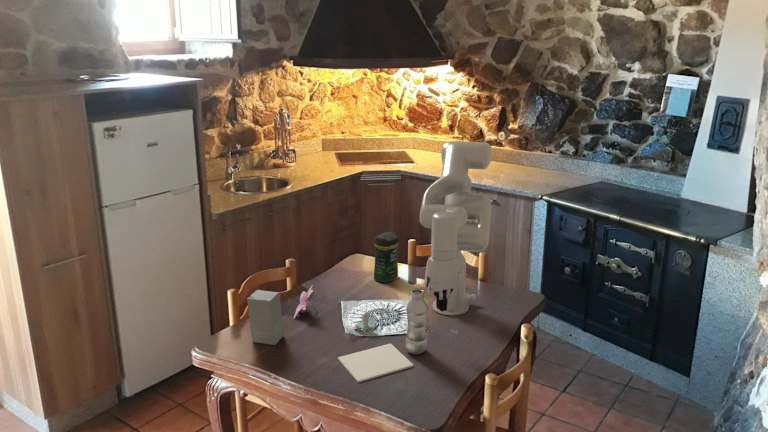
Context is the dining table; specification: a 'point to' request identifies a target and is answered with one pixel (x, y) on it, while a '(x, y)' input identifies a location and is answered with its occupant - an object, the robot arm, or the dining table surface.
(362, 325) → the pacifier
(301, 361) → the dining table surface
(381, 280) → the coffee jar
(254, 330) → the skincare box
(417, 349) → the plastic bottle
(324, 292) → the dining table surface
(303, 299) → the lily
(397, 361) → the mat
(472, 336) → the dining table surface
